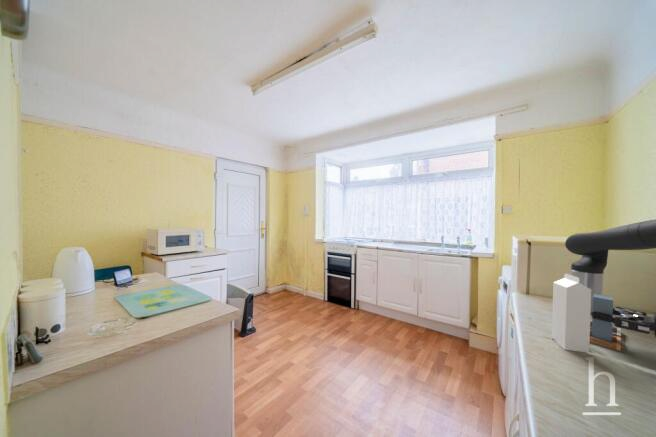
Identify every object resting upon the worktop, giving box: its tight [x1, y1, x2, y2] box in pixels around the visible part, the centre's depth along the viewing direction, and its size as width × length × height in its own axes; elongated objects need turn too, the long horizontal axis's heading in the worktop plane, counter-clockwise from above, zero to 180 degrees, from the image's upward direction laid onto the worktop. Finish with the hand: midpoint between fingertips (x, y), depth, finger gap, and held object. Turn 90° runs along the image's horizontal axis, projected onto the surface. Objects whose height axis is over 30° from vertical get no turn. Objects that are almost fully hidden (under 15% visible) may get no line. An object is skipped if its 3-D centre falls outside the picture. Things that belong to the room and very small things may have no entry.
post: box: [591, 294, 614, 343], centre depth 74 cm, size 4×4×14 cm
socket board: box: [589, 320, 626, 354], centre depth 77 cm, size 19×9×2 cm, turn 129°
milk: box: [551, 273, 591, 353], centre depth 73 cm, size 6×6×22 cm
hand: (593, 311), depth 75 cm, fingers open, 8 cm apart
